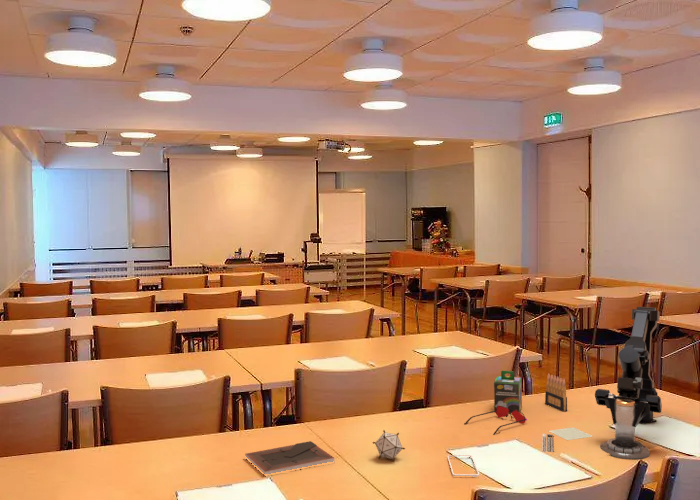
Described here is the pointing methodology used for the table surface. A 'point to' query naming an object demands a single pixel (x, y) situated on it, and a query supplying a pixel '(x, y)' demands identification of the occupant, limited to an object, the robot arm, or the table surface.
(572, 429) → the stand pad
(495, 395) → the chalk box
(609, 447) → the hub flange
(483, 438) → the table surface
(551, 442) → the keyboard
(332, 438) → the table surface
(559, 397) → the ammunition clip
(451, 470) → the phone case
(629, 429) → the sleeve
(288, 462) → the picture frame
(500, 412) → the glasses
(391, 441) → the game die
